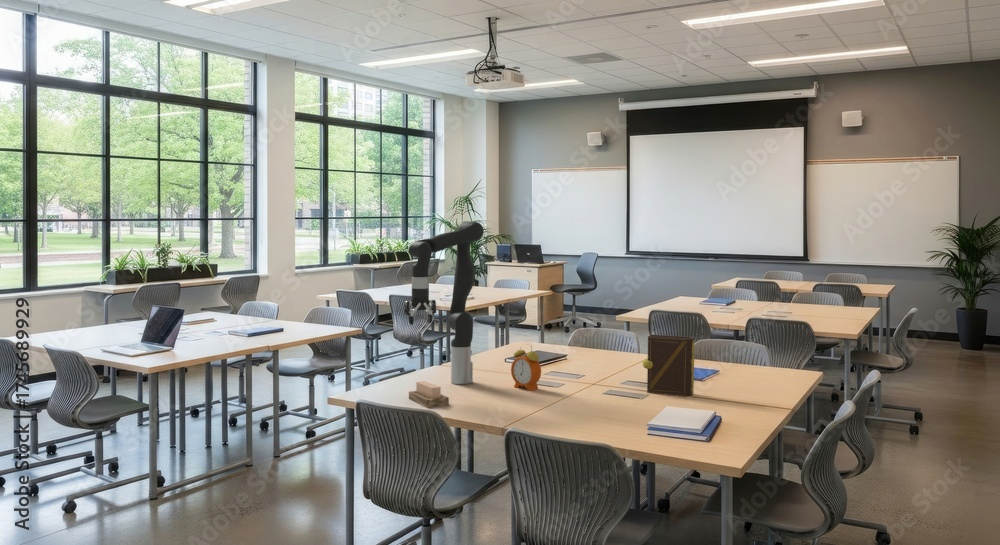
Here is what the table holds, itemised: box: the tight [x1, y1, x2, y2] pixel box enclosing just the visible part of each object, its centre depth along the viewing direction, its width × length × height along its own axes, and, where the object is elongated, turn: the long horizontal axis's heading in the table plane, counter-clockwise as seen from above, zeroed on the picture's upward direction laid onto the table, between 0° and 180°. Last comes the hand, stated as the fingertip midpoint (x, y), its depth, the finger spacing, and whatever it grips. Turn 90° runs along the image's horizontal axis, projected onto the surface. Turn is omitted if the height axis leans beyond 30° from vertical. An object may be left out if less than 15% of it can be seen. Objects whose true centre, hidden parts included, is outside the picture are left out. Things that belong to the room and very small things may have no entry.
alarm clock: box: [510, 344, 542, 392], centre depth 347 cm, size 13×6×20 cm, turn 47°
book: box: [642, 334, 695, 397], centre depth 338 cm, size 22×8×25 cm, turn 65°
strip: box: [415, 380, 442, 399], centre depth 322 cm, size 4×14×6 cm, turn 33°
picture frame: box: [408, 390, 450, 409], centre depth 322 cm, size 10×18×3 cm, turn 30°
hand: (420, 323), depth 339 cm, fingers open, 8 cm apart
